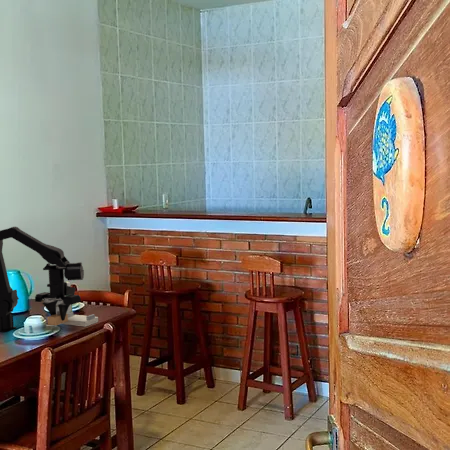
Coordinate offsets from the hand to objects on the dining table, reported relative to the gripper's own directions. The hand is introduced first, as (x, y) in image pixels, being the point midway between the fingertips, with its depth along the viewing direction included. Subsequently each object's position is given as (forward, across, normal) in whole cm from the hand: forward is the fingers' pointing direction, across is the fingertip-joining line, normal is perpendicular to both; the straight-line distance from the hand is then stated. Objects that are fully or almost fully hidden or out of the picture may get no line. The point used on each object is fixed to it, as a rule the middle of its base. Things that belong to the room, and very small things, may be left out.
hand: (58, 319), depth 246 cm
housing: (+1, 0, +1) cm, 1 cm away
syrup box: (+3, +12, -16) cm, 20 cm away
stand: (+3, -3, -9) cm, 10 cm away
